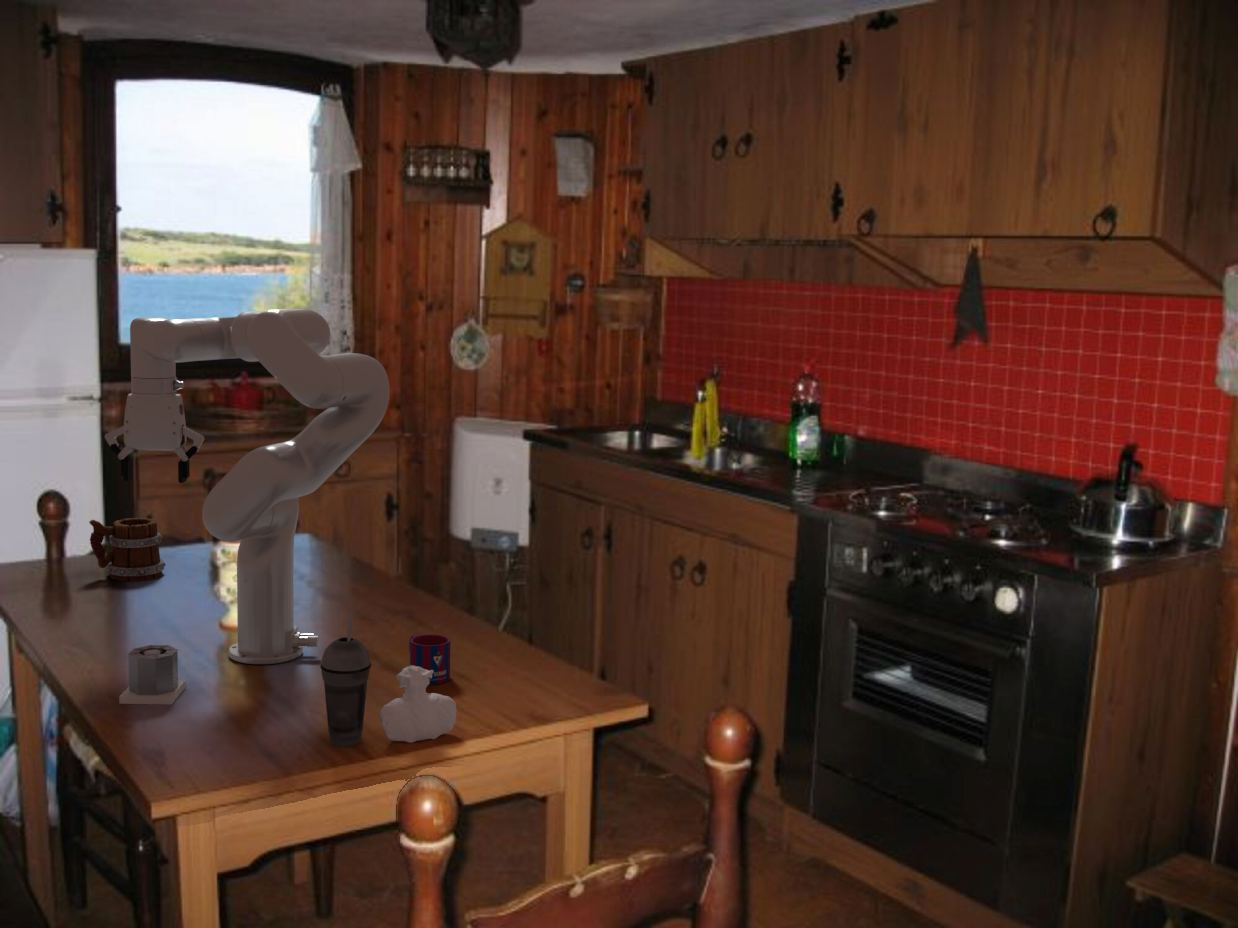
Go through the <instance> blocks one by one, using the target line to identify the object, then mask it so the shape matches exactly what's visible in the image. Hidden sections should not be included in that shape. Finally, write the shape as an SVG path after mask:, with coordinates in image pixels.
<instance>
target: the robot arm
mask: <svg viewBox="0 0 1238 928" xmlns="http://www.w3.org/2000/svg"><path fill="white" fill-rule="evenodd" d="M330 338H331V329H330V326H329V324H328V321H327V320H326V319H325V317H323V316H322V315H321V314H320V313H318V312H316V311H314V310H311V309H307V308H283V309H282V308H281V309H279V308H278V309H276V308H275V309H268V310H257V311H256V310H255V311H244V312H243V311H242V312H241V313H239V314H238V315H237V316H225V317H196V318H191V317H190V318H175V319H171V318H170V319H169V318H166V317H155V316H151V317H150V316H147V317H146V316H145V317H144V316H143V317H137V318H133V320H132V321H131V322H130V326H129V342H130V344H129V345H130V381H131V382H130V384H131V385H130V386H131V387H130V390H131V392H130V393H128V395H127V397H126V398H127V399H126V402H125V403H126V404H125V409H124V410H125V411H124V417H123V425H122V426H120V427H118V428H114V430H111V431H109V432H107V433H105V434H104V439H105V440H106V442H107V445H109V448H110V450H111V451H112V452H113V453H114V454H115V455H116V456H117V458H118V459H119V460H120V475H121V477H123V481H124V482H125V483H126V482H127V483H128V482H130V481H131V480H133V479H134V463H133V462H134V460H133V457H132V456H131V454H132V453H133V452H134V451H135V450H138V451H169V452H170V451H173V452H174V453H175V454H176V455H177V457H178V458H179V461H178V462H177V477H178V479H177V480H178V481H177V482H178V483H180V484H184V483H185V482H187V480H188V478H190V474H191V471H190V469H191V468H190V467H191V466H190V459H192V458H193V456H195V454H197V453H198V452H199V450H200V448H201V446H202V444H203V442H204V441H205V436H204V435H202V434H200V433H198V432H196V431H195V430H193V429H191V428H189V427H187V425H186V417H185V416H186V415H185V409H184V402H183V397H182V394H181V393H177V392H178V390H180V389H181V390H184V388H185V381H183V380H182V381H180V380H178V377H177V376H176V375H177V374H176V373H177V370H176V369H177V368H176V365H177V363H187V362H188V363H189V362H199V361H212V360H213V361H215V360H229V359H241V360H243V361H245V362H250V363H253V362H255V363H256V362H259V363H260V364H261V365H262V366H263V367H264V368H265V369H266V370H267V371H268V373H270V374H271V376H273V377H274V378H275V380H276V381H277V382H279V384H280V385H281V386H282V387H283V388H284V389H285V390H286V391H287V392H288V393H289V394H290V395H291V396H292V397H293V398H294V399H295V400H296V401H298V402H299V403H301V404H302V405H304V406H305V407H308V408H311V409H316V410H321V409H322V410H323V409H324V411H323V412H321V413H319V414H318V415H317V416H315V418H314V419H312V420H311V421H310V422H309V423H308V424H307V425H306V427H305V428H303V430H302V431H301V432H299V433H298V434H297V435H296V436H295V437H293V438H292V439H290V440H287V441H282V442H278V443H272V444H268V445H264V446H263V445H262V446H260V447H257V448H254V449H253V450H251V451H250V452H248V453H246V454H245V455H244V456H242V458H240V460H238V462H236V463H235V465H234V466H233V467H231V469H230V470H228V472H227V473H226V474H225V475H224V476H223V477H222V478H221V479H220V480H219V481H218V483H216V484H215V486H213V488H212V489H211V490H210V491H209V493H208V494H207V495H206V497H205V500H204V503H203V507H202V522H203V525H204V528H205V529H206V530H207V532H208V533H209V534H211V536H213V537H214V538H216V539H218V540H221V541H225V542H234V541H235V542H236V541H239V546H238V550H237V557H236V586H237V587H236V599H237V600H236V602H237V605H236V608H237V609H236V610H237V612H236V613H237V614H236V615H237V642H236V643H233V644H232V645H230V646H229V648H228V657H229V658H230V659H231V660H233V661H235V662H238V663H240V664H241V663H243V664H249V665H273V664H274V665H275V664H281V663H284V662H285V663H286V662H289V661H292V660H295V659H297V658H299V657H300V656H301V655H302V654H303V652H304V651H303V650H304V649H303V647H308V648H318V647H319V639H320V638H319V636H318V635H315V633H307V632H306V633H302V632H301V631H299V629H298V627H299V625H298V624H297V625H296V624H294V616H295V615H294V614H295V613H294V609H295V608H294V601H295V600H294V568H295V567H294V566H295V565H294V561H295V560H294V554H295V553H294V549H295V538H296V537H295V536H296V529H297V523H298V520H299V512H300V501H299V498H301V497H304V496H307V495H309V494H312V493H314V492H315V491H316V490H318V489H319V488H320V487H321V486H322V485H323V484H324V483H325V482H326V481H327V480H328V479H329V478H330V477H331V476H332V474H334V473H335V471H336V470H338V468H340V466H341V465H343V464H344V463H345V462H346V461H347V459H348V458H349V457H350V456H351V455H352V454H354V452H355V451H356V450H357V449H358V448H359V447H360V446H361V445H363V443H365V442H366V440H367V439H368V438H369V437H370V436H372V434H373V433H374V432H375V431H376V429H377V428H378V426H379V425H380V424H381V422H382V421H383V419H384V417H385V415H386V413H387V412H386V411H387V409H388V405H389V401H390V381H389V378H388V373H387V371H386V369H385V367H384V366H383V365H382V363H381V362H380V361H378V360H377V359H376V358H374V357H372V356H370V355H367V354H363V353H355V352H348V353H346V352H345V353H338V354H337V353H336V354H323V355H320V354H321V353H323V352H324V350H326V348H327V346H328V344H329V342H330V341H331V339H330ZM121 435H123V444H124V447H123V446H122V445H120V443H118V440H117V437H119V436H121ZM187 438H189V439H191V440H193V441H192V442H193V443H192V446H190V448H189V449H188V448H187V447H186V445H187Z"/></svg>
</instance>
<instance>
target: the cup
mask: <svg viewBox="0 0 1238 928" xmlns="http://www.w3.org/2000/svg"><path fill="white" fill-rule="evenodd" d="M451 643H452V642H451V638H450V637H448V636H446V635H443V634H434V633H428V634H413V635H411V636H410V638H409V645H408V646H409V647H408V649H409V666H410V665H412V666H413V665H414V666H417V667H419V666H420V667H421V668H423V669H426V670H428V671H430V670H433V671H434V672H433V674H432V678H429V677H428V678H429V682H430V683H429V685H428V686H434V685H436V686H437V685H441V684H444V683H446V682H449V681H450V679H451Z"/></svg>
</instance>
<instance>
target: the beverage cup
mask: <svg viewBox="0 0 1238 928" xmlns="http://www.w3.org/2000/svg"><path fill="white" fill-rule="evenodd" d="M353 616H354V610H352V609H350V610H349V615H348V626H347V636H343V637H340V638H339V637H338V638H337V639H335V640H333V641H332V642H331V643H329V644H328V646H327V647H326V648H325V649H324V652H323V655H322V657H321V663H320V667H319V668H320V669H321V676H322V681H323V684H324V685H323V686H324V695H325V696H324V697H325V706H326V707H325V709H326V716H327V717H326V719H327V729H328V734H329V735H328V736H329V743H330V744H331V745H332V746H335V747H342V748H347V747H353V746H357V745H359V744H360V743H362V735H363V729H364V720H365V710H366V709H365V707H366V700H367V698H366V697H367V688H368V681H369V677H370V672H371V667H372V662H371V658H370V657H371V656H370V654H369V651H368V649H367V647H366V646H365V645H364V644H363V643H362V642H361V641H360V640H358V639H356V638H353V637H352V631H353V620H354V619H353Z"/></svg>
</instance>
